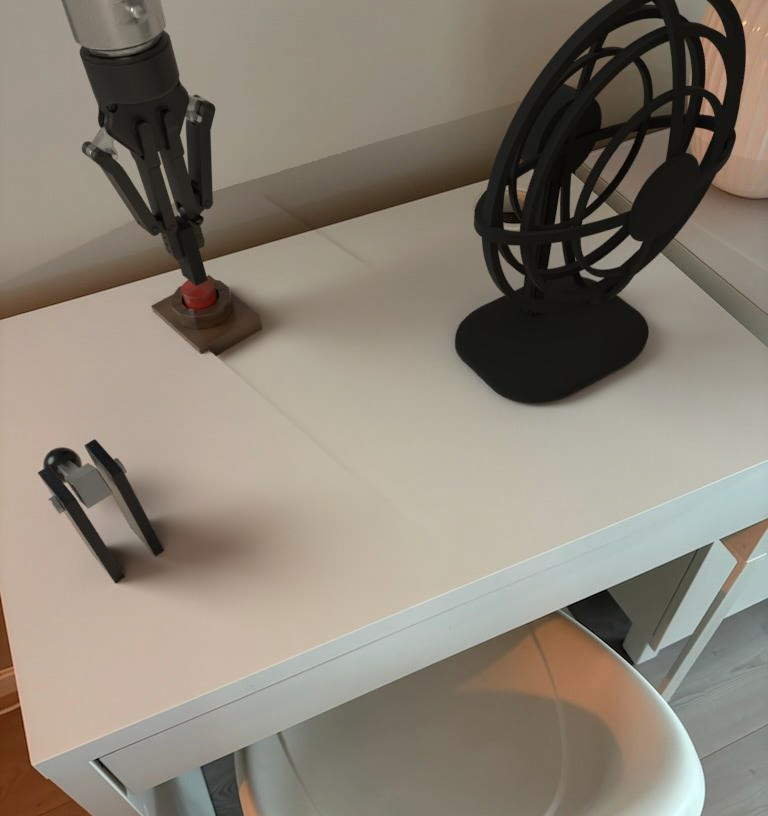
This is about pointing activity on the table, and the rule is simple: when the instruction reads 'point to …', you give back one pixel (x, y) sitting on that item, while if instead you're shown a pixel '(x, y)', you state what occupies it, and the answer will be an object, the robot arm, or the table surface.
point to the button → (199, 294)
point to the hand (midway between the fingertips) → (195, 277)
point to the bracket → (124, 498)
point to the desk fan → (553, 165)
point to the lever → (78, 475)
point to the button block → (210, 320)
